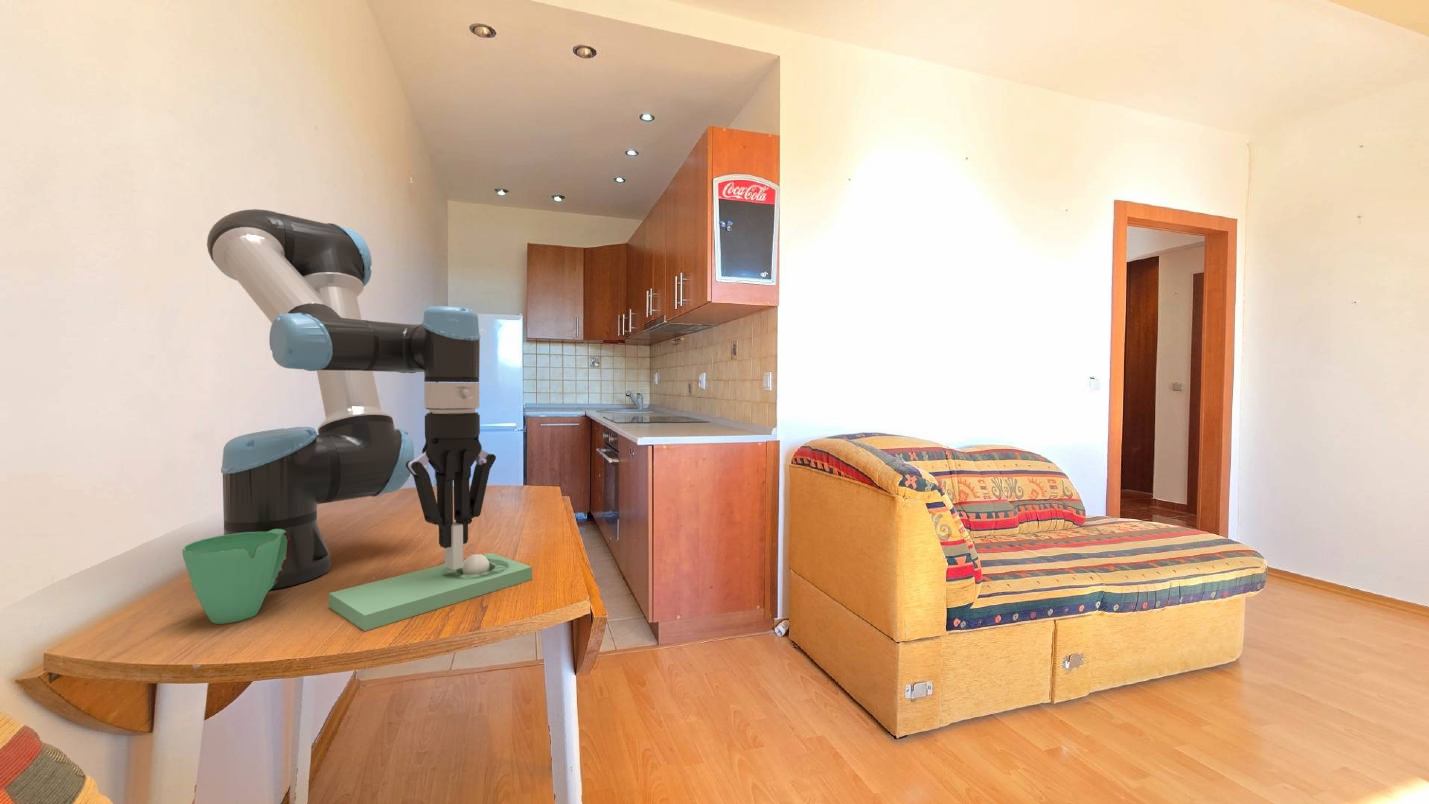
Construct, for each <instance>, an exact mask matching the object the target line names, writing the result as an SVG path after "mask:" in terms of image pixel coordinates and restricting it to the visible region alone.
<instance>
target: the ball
mask: <svg viewBox="0 0 1429 804" xmlns="http://www.w3.org/2000/svg"><path fill="white" fill-rule="evenodd" d="M465 559H466V560H465V561H464V563H463V568H462V572H463V575H475V574H482V573H486V572H488V571H489V561H488V559H487V558H486V557H485V556H483V554H480V553H478V554H477V553H475V554H471V555H469V556H468V557H467V558H465Z"/></svg>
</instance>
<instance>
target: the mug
mask: <svg viewBox="0 0 1429 804" xmlns="http://www.w3.org/2000/svg"><path fill="white" fill-rule="evenodd" d="M289 547H290V537H289V535H288V534H287V533H286V531H285V530H283V529H273V530H270V531H268V532H246V533H236V534H229V535H224V534H223V535H216V536H212V537H207V538H203V539H200V540H197V541H194V542H191V543H189V544H186V545H184V547H183V548H182V557H183V561H184V564H185V568H186V570H187V573H188V577H189V580H190V583H191V585H192V588H193V591H194V593H195V595H196V598H197V599H198V602H199V603H200V606H201V608H202V609H203V611H204V612H205V614H206V616H207V617H208V619H209V621H210V622H211V623H212V624H217V625H225V624H231V623H233V624H234V623H236V622H241V621H244V620H248V619H250V618H253V617H254V616H256V615H257V614H258V613H259V611H260V609H261V607H262V604H263V602H264V600H265V598H266V597H267V596H266V595H267V594H268V592H269V591H270V589H271V588H272V587H273V586H274V585H275V583H276V582H277V581H278V579H279V576H280V574H281V572H282V570H283V568H284V566H285V564H286V562H287V559H288V557H289Z"/></svg>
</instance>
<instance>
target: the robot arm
mask: <svg viewBox="0 0 1429 804" xmlns="http://www.w3.org/2000/svg"><path fill="white" fill-rule="evenodd" d="M207 235H208V236H207V240H206V247H207V253H208V254H209V256H210V259H211V260H212V262H213V263H214V264H215V266H216V267H217V269H218V270H219V271H220V272H222V274H224V276H227V277H228V278H230V279H232V280H234V281H237V282H238V283H239V284H240V286H241V287H242V288H243V289H244V290H245V292H246V293H247V294H248V296H249V297H250V298H251V299H252V301H253V302H254V303H255V305H256V306H257V307H258V309H260V310H261V312H262V313H263V314H264V316H265V317H266V318H267V319H268V321H269V322H270V323H271V325H270V329H269V348H270V351H271V353H272V355H271V356H272V358H273V360H274V362H275V363H276V364H277V365H278V366H280V367H281V368H285V369H293V370H304V371H308V372H316V374H317V379H318V385H319V389H320V390H319V391H320V395H321V399H322V404H323V410H324V411H323V412H324V416H325V419H324V421H323V422H322V423H321V424H320V425H319V426H318V428H317V431H316V429H315V428H314V427H313V426H295V427H287V428H285V427H284V428H276V429H270V430H267V429H266V430H263V431H262V430H261V431H258V432H251V433H247V434H243V435H239V436H235V437H234V438H231V439H230V440H228V441H227V442H226V443H225V445H224V446H223V451H222V459H221V460H222V461H221V462H222V463H221V468H220V473H222V499H223V500H222V502H223V503H222V506H223V508H222V509H223V535H229V534H236V533H246V532H268V531H270V530H273V529H283V530H285V531H286V533H287V534H288V535H289V537H290V547H289V557H288V559H287V562H286V564H285V566H284V568H283V570H282V572H281V574H280V576H279V579H278V581H277V582H276V583H275V585H274V586H273V587H272V588H271V589H270V590H277V589H282V588H285V587H292V586H294V585H298V584H303V583H305V582H309V581H311V580H314V579H317V578H319V577H321V576H323V575H325V574H327V572H329V571H330V570H331V567H332V566H331V552H330V551H329V548H328V546H327V543H326V542H325V541H326V540H325V539H324V536H323V534H322V532H321V529H320V527H319V523H318V505H320V504H321V505H322V504H328V503H335V502H341V501H349V500H354V499H361V498H367V497H372V498H376V497H378V496H380V495H381V496H382V495H385V494H390V493H394V492H395V493H396V491H399V490H400V489H402V488H403V487H404V486H405V484H407V482H408V481H409V479H410V476H411V475H412V477H413V481H414V483H415V488H416V491H417V495H418V499H419V503H420V506H421V510H422V513H423V517H424V520H425V522H427V523H428V524H432V525H434V526H435V525H436V526H438V544H439V547H440V548H443V549H444V564H445V567H448V568H450V569H452V570H456V569H459V568H463V559H464V545H465V544H467V543H468V542H469V525H470V524H471V523H472V522H473V519H474V518H479V517H480V516H481V513H482V509H483V504H484V499H485V493H486V490H487V486H488V482H489V475H490V472H491V468H492V467H493V465H494V463H495V461H496V459H497V457H496V455H495V454H493V453H489V452H487V451H485V450H484V449H483V446H482V443H481V441H480V435H481V421H480V420H481V419H480V417H481V415H480V414H479V413H478V412H477V411H476V410H478V409H479V408H480V350H481V349H480V348H481V347H480V343H481V342H480V341H481V340H480V339H481V334H480V331H479V330H480V328H479V326H480V325H479V315H478V314H477V312H476V311H474V310H473V309H471V308H467V307H466V308H465V307H460V306H459V307H458V306H445V305H443V306H442V305H438V306H429V307H427V308H426V309H425V311H424V313H423V319H422V323H419V324H415V323H414V324H411V323H398V322H387V321H378V320H377V321H376V320H367V319H362V315H361V310H360V305H359V301H358V297H359V295H361V294H362V293H363V291H364V288H365V286H367V284H368V283H369V282H370V280H371V275H372V269H371V266H372V265H373V260H372V255H371V251H370V248H369V246H368V244H367V242H366V240H365V239H364V237H363V236H362V235H361V234H359V233H358V232H357V231H355V230H354V229H350V228H348V227H344V226H341V225H338V224H336V223H332V222H331V223H330V222H328V223H325V222H320V221H315V220H312V219H308V218H303V217H299V216H296V215H295V216H293V215H290V214H289V215H288V214H285V213H280V212H276V211H274V210H268V209H267V210H266V209H258V208H257V209H255V208H254V209H243V210H239V211H235V212H231V213H229V214H227V215H224V216H223V217H222V218H220V219H219V220H218V221H216V222H215V223H214V224H213V226H212V227H211V229H210V230H209V233H208V234H207ZM374 372H389V373H394V372H395V373H401V374H407V373H408V374H415V373H416V374H417V373H423V374H424V375H423V376H424V379H423V381H424V385H423V387H424V391H423V392H424V394H423V395H424V408H425V409H426V410H428V413H426V414H425V415H424V437H425V439H424V440H425V442H424V446H423V447H422V451H421V454H420V455H419V456H418V457H416V458H415V447H414V441H413V440H412V437H411V435H410V434H409V432H407V431H406V429H405V430H404V429H401V428H395V424H394V419H393V416H392V415H391V414H388V413H387V412H385V411H384V410H382V408H381V405H380V399H379V395H378V390H377V384H376V380H375V375H374ZM474 463H476V464H475V466H474V469H473V474H472V466H473V465H474ZM428 464H429V465H430V466H431V467H432V468H433V470H434V471H435V472H434V477H435V479H436V496H435V490H434V488H433V485H432V480H431V477H430V474H429V471H428V470H429V465H428ZM471 477H472V479H471ZM470 479H471V483H470ZM454 520H455V521H454ZM270 590H269V591H270Z"/></svg>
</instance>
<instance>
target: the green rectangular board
mask: <svg viewBox="0 0 1429 804" xmlns="http://www.w3.org/2000/svg"><path fill="white" fill-rule="evenodd" d="M482 555H483V556H485V557H486V558H487V559H488V561H489V571H488V572H486V573H482V574H475V575H463V572H462V568H459V569H456V570H452V569H450V568H448V567H445V563H443V564H441V565H436V566H432V567H428V568H423V569H420V570H416V571H412V572H408V573H404V574H400V575H396V576H393V577H388V578H384V579H380V580H377V581H371V582H368V583H364V584H359V585H357V586H352V587H349V588H348V587H347V588H344V589H340V590H335V591H332V592H329V593H328V607H329V609H331V610H333V611H334V612H336V613H337V614H338V615H340V616H341V617H343V618H344V619H346V620H347V621H349V622H350V623H352V624H353V625H354V626H356V627H358V628H359V629H360V630H362V631H363V632H366V631H367V632H368V631H370V630H373V629H377V628H380V627H383V626H386V625H390V624H393V623H395V622H399V621H403V620H405V619H409V618H412V617H414V616H415V617H416V616H418V615H421V614H425V613H427V612H431V611H434V610H439V609H441V608H445V607H447V606H451V605H454V604H457V603H460V602H464V601H467V600H469V599H474V598H476V597H480V596H482V595H486V594H489V593H493V592H496V591H499V590H503V589H506V588H509V587H512V586H514V585H515V586H516V585H518V584H522V583H525V582H529V581H531V580H533V566H530V565H527V564H524V563H521V562H519V561H516V560H513V559H510V558H508V557H505V556H502V555H499V554H495V553H492V552H488V553H485V554H482ZM466 559H467V558H463V563H464V561H465V560H466Z"/></svg>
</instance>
